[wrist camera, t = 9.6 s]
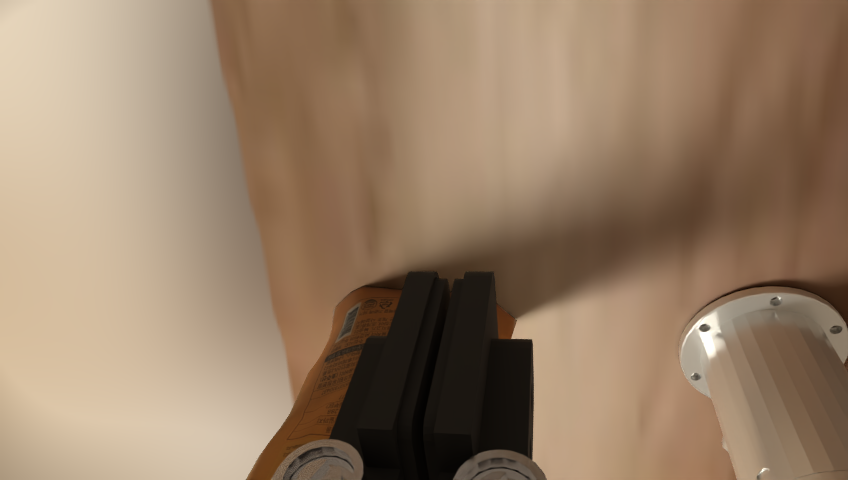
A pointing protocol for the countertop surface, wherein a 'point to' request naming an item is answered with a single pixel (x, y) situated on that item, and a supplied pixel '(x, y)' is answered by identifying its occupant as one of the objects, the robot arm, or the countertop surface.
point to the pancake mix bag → (339, 372)
